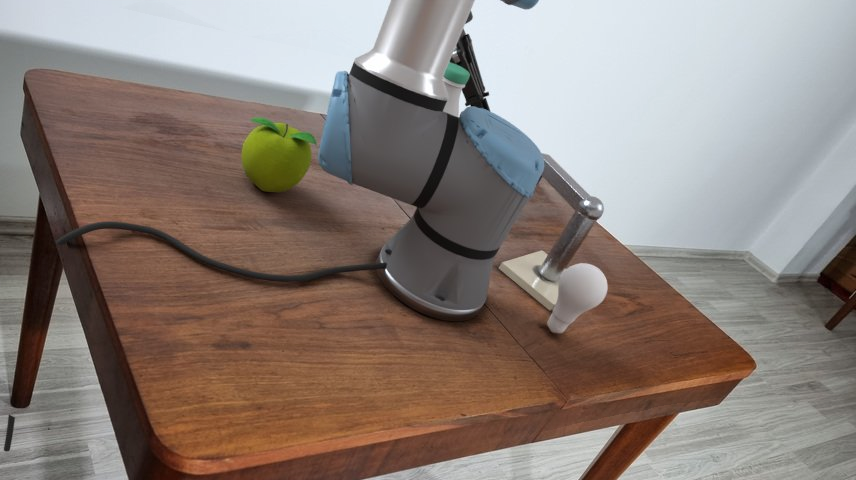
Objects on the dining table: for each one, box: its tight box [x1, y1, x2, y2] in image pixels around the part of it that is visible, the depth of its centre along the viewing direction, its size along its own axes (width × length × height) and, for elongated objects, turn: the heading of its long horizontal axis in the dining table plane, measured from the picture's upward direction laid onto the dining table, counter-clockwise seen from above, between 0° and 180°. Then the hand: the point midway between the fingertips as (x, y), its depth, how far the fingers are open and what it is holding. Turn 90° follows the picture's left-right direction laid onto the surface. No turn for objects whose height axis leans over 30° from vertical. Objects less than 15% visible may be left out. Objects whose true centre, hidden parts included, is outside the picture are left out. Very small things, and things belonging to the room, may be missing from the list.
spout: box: [536, 152, 605, 281], centre depth 107 cm, size 16×4×14 cm, turn 20°
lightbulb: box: [546, 262, 608, 334], centre depth 94 cm, size 6×6×11 cm
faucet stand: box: [498, 249, 567, 311], centre depth 107 cm, size 12×10×1 cm
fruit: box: [240, 116, 317, 193], centre depth 97 cm, size 9×9×10 cm
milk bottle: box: [443, 62, 470, 117], centre depth 114 cm, size 8×8×20 cm
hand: (489, 135), depth 127 cm, fingers closed
